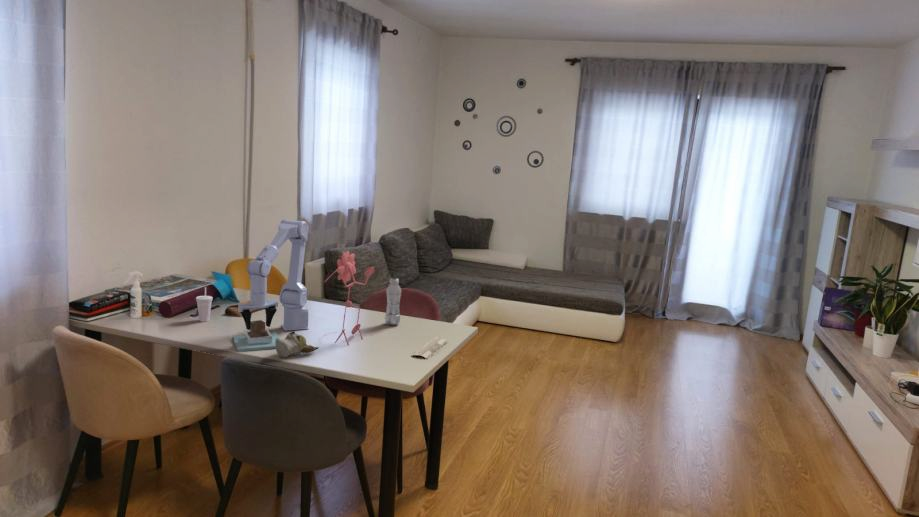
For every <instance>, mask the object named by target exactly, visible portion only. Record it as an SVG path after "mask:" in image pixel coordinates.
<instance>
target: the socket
mask: <svg viewBox="0 0 919 517" xmlns="http://www.w3.org/2000/svg"><path fill="white" fill-rule="evenodd" d="M270 333H271V332H270V331H269V329H265V336H263V337H250V330H245V331H244V334H243V335H244V338H245V340H246V342H247V345H253V344H266V343H272V335H271V334H270Z"/></svg>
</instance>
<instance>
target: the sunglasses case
mask: <svg viewBox="0 0 919 517" xmlns="http://www.w3.org/2000/svg"><path fill="white" fill-rule="evenodd" d="M248 303H250V300H248V301H244V302H240V303H237V304H235V305H229V306H227V307H226V308H225V310H224V314H225V316H229V317H236V318H243V316H242V314H241V313H240V311H238V305H244V304H248ZM263 310H265V308H262V309H254V310H249V311H250V313H252V314H253V313H257V312H259V311H263Z"/></svg>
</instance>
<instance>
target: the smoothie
mask: <svg viewBox="0 0 919 517" xmlns="http://www.w3.org/2000/svg"><path fill="white" fill-rule="evenodd" d="M213 298H214V297H213V296H211V295H207V287H206V286H204V295H198V296H196V297H195V301H196V305H197V310H198V311H197V312H198V319H199V322H201V323H202V322H203V323H206V322H209V321H210V317H211V310H212V303H213V302H212V301H213Z"/></svg>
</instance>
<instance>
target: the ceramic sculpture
mask: <svg viewBox="0 0 919 517" xmlns="http://www.w3.org/2000/svg"><path fill="white" fill-rule="evenodd" d="M318 349H319V346H313V345H309V344H307V339H306V338H305V336H303V335H302V334H299V333H296V332H295V331H292V332H288V334H287V335H286V336H285V338H280V339H278V338H277V339H276V349H275V351H276V353H277V355H278V356H279V357H280V358H287V357H289V355H300V354H311V353H313V352H315V351H316V350H318Z"/></svg>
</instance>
